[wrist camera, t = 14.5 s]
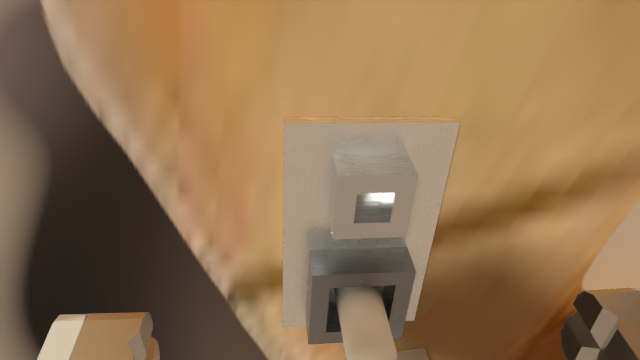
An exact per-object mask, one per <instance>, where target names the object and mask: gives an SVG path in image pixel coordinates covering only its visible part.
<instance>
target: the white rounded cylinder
mask: <svg viewBox="0 0 640 360" xmlns="http://www.w3.org/2000/svg"><path fill="white" fill-rule="evenodd" d="M334 292H335V298H336V304H337V309H338V315H339V321H340V327H341V332H342V338H343V344H344V349H345V355H346V360H396V359H397V351H396V347H395V344H394V340H393V336H392V333H391V329H390V325H389V322H388V318H387V314H386V311H385V307H384V304H383V300H382V296H381V293H380V289H379V286H366V287H343V288H334Z"/></svg>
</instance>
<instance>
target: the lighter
mask: <svg viewBox="0 0 640 360" xmlns="http://www.w3.org/2000/svg"><path fill="white" fill-rule="evenodd" d="M396 360H429V359H428V356H427V353H426V350H425V348H424V347H423V348H416V349H409V350H402V351H397V359H396Z"/></svg>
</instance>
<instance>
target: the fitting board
mask: <svg viewBox="0 0 640 360" xmlns="http://www.w3.org/2000/svg"><path fill="white" fill-rule="evenodd" d="M459 126H460V121H459V120H458V119H457V117H456V116H431V117H284V177H283V260H282V328H284V327H303V326H306V327H307V336H308V344H323V343H340V342H343V338H342V332H341V327H340V321H339V315H338V309H337V304H336V298H335V292H334V288H343V287H366V286H379V289H380V293H381V296H382V300H383V304H384V307H385V311H386V314H387V318H388V322H389V325H390V329H391V333H392V336H393V339H401V338H402V334H403V329H404V325H405V321H414V319H415V315H416V310H417V306H418V302H419V297H420V293H421V289H422V285H423V280H424V276H425V272H426V267H427V263H428V259H429V255H430V250H431V246H432V242H433V238H434V233H435V229H436V225H437V220H438V216H439V212H440V208H441V203H442V199H443V195H444V190H445V186H446V182H447V178H448V173H449V169H450V165H451V161H452V156H453V152H454V148H455V143H456V139H457V135H458V131H459Z"/></svg>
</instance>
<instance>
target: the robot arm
mask: <svg viewBox="0 0 640 360" xmlns="http://www.w3.org/2000/svg"><path fill="white" fill-rule="evenodd" d="M573 305H574V307H575V309H576V312H575V313H573V314H572V315H571V316H569V317H568V318H567V319H566V320H565V322H564V325H563V327H562V329H561V345H562V348H563V351H564V354H565V356H566V358H567V360H640V288H633V289H631V288H622V289H606V290H589V291H583V292H581V293H580V294H578V295H577V297H576V299H575V301H574V303H573ZM152 328H153V323H152V320H151V316H150V313H104V314H103V313H102V314H101V313H100V314H75V315H60V316H59V317H58V318H57V319H56V320H55V321H54V322H53V324H52V326H51V328H50V331H49V333H48V335H47V338H46V340H45V342H44V345H43V347H42V349H41V352H40V354H39V356H38V359H37V360H160V358H159V357H160V356H159V348H158V343H157V341H156V340H155V339H154V338H152V337H151V332H152Z"/></svg>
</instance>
